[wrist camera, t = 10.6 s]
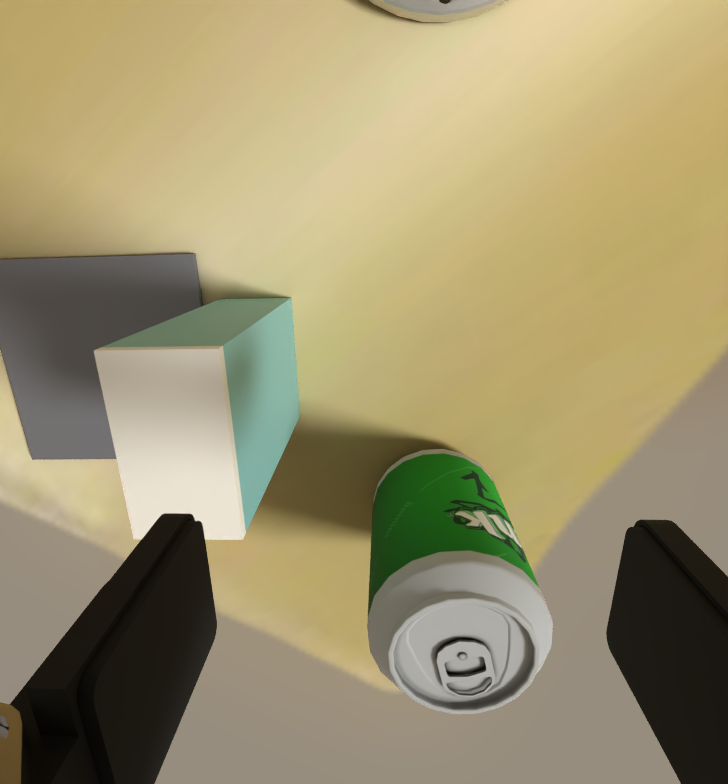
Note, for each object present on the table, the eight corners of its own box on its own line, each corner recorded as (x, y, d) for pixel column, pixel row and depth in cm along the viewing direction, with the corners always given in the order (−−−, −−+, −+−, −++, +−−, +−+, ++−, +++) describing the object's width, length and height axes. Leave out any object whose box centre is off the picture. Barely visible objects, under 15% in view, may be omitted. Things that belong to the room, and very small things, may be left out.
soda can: (388, 555, 31) (390, 740, 20) (360, 454, 29) (344, 599, 18) (502, 534, 30) (573, 715, 19) (483, 429, 28) (550, 563, 17)
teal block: (219, 299, 26) (93, 350, 15) (291, 297, 26) (218, 348, 15) (234, 416, 28) (133, 539, 17) (299, 415, 28) (242, 539, 17)
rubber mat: (-19, 259, 26) (-25, 260, 26) (195, 253, 25) (192, 254, 25) (36, 456, 30) (32, 459, 29) (223, 455, 29) (221, 458, 29)
